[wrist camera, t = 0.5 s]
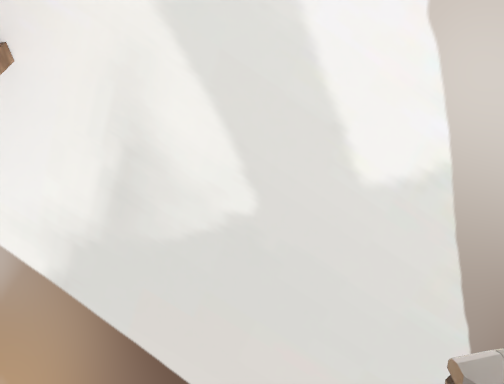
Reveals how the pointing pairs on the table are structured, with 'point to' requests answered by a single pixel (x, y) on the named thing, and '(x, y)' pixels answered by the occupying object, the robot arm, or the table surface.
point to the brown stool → (5, 57)
